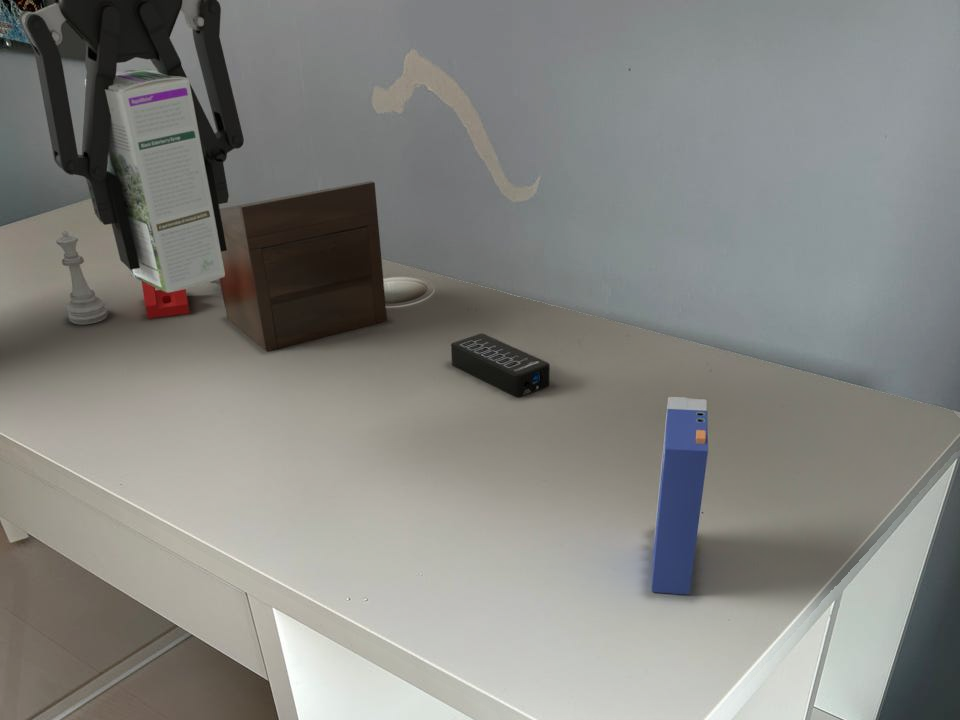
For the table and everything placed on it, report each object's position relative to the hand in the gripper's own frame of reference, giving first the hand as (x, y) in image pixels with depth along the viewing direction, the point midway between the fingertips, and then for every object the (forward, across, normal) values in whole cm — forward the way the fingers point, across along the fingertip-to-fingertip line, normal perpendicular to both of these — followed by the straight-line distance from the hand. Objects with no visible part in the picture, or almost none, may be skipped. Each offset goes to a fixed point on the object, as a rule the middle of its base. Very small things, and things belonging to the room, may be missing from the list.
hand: (174, 254), depth 79 cm
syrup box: (+2, 0, 0) cm, 2 cm away
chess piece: (+18, -1, +41) cm, 44 cm away
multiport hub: (+18, +30, -1) cm, 35 cm away
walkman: (+17, +22, -37) cm, 47 cm away
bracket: (+18, +8, +39) cm, 43 cm away
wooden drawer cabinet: (+18, +20, +25) cm, 36 cm away
